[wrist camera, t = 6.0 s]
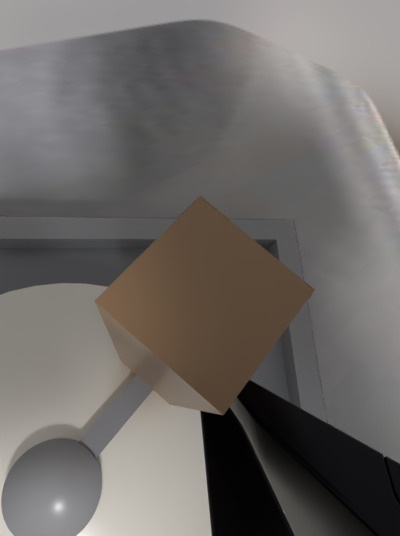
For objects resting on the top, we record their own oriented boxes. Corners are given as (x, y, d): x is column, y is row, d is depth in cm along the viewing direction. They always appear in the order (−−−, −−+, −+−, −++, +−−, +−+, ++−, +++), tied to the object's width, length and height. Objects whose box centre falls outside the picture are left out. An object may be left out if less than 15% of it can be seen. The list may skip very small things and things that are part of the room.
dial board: (357, 770, 13) (396, 835, 11) (-373, 968, 9) (-502, 1114, 7) (278, 237, 19) (293, 219, 17) (-167, 235, 16) (-208, 213, 14)
